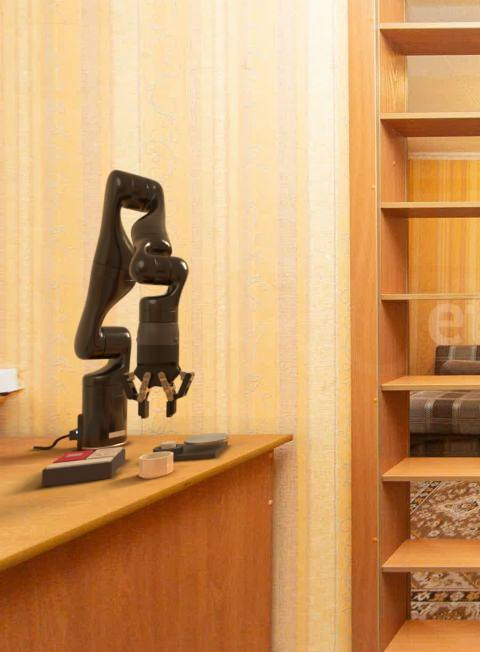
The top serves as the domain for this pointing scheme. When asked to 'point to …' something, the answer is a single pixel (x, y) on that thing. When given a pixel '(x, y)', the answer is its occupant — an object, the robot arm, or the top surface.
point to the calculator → (83, 466)
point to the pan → (206, 439)
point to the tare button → (168, 444)
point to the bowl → (155, 464)
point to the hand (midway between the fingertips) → (157, 417)
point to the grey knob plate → (194, 451)
